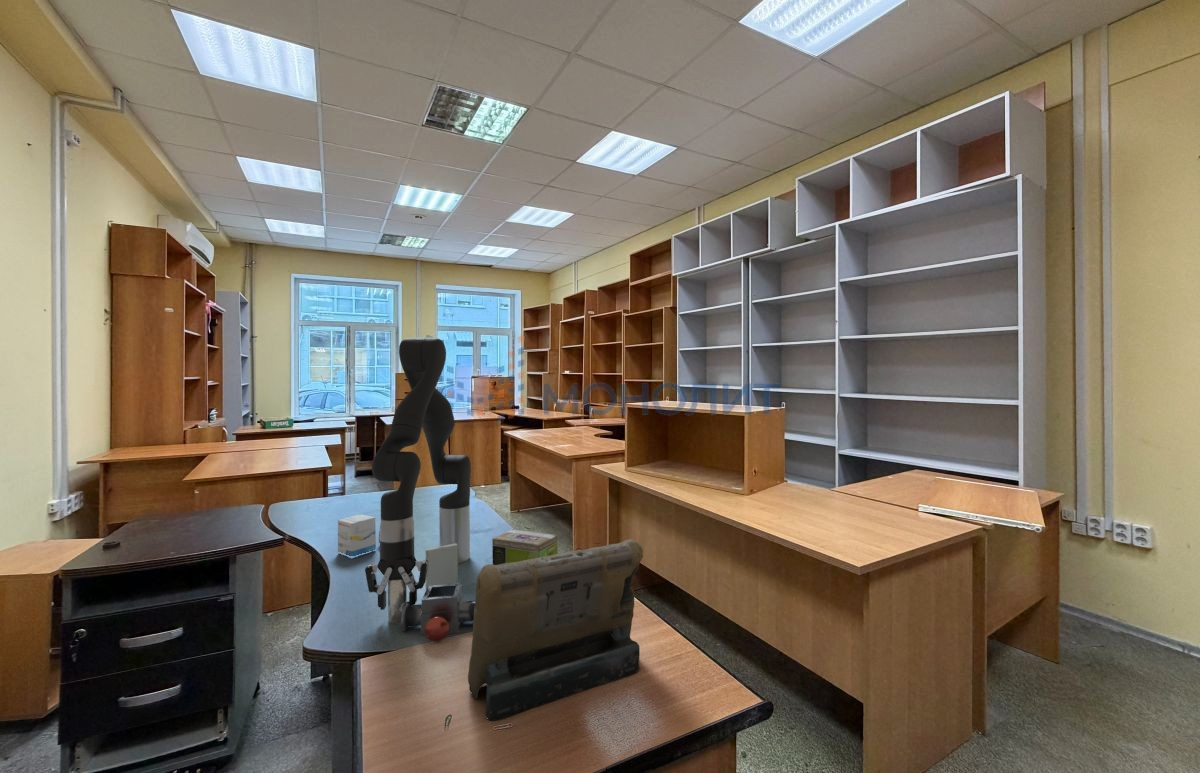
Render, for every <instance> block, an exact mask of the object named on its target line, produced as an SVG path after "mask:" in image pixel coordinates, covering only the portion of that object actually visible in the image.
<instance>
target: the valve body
mask: <svg viewBox="0 0 1200 773" xmlns="http://www.w3.org/2000/svg"><path fill="white" fill-rule="evenodd" d="M462 588H463V586H462V583H461V582H460V583H459V582H458V584H445V585H431V586H428V587H427V590H426V589H425V592H424V594H423V596H422V598H421V603H420V604H415V605H410V602H409V601H407V602H404V604H403V607H402V612H401V623H400V630H401V631H402V632H407V631H409V630H408V629H409V628H410V627H419V626H420V638H421V637H422V638H423V637H426V639H428V641H430V642H441V641H442V640H444V639H446V637H447V636H448V635H459V632H460V628H461V624H462V623H465V622H473V620H474V607H475V599H473V600H471V599H470V600H464V598H463V597H464V595H463V593H462V592H463V591H462Z"/></svg>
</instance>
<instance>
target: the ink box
mask: <svg viewBox="0 0 1200 773" xmlns="http://www.w3.org/2000/svg"><path fill="white" fill-rule="evenodd" d="M376 535H377V534H376V517H375V516H370V515H365V514H363V513H361V514H356V515H351V516H347V517H344V518H341V519H337V553H338V552H341V553H344V554H346V555H349V556H356V555H359V554H362V553H366V552H369V551H373V550H375V549H376V550H377V546H376V543H377V542H376V539H377V538H376V537H377V536H376Z"/></svg>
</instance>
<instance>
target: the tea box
mask: <svg viewBox="0 0 1200 773" xmlns="http://www.w3.org/2000/svg"><path fill="white" fill-rule="evenodd" d="M491 540H492V549H491V550H492V551H491V552H492V564H493V565H500V564H504V563H513V562H519V561H525V560H529V559H535V558H539V557H544V556H551V555H555V554H559V553H558V552H559V551H558V534H556V533H555V534H554V533H553V534H552V533H545V532H538V531H531V530H524V529H523V530H521V529H515V528H513V529H510V530H508V531H506V532H503V533H502V534H500V535H497V536H495V537H493V538H492V539H491Z"/></svg>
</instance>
